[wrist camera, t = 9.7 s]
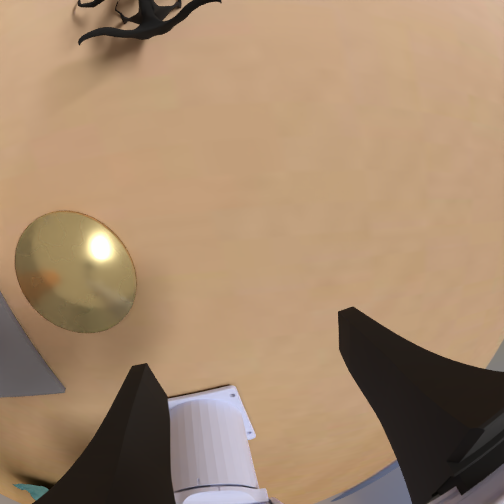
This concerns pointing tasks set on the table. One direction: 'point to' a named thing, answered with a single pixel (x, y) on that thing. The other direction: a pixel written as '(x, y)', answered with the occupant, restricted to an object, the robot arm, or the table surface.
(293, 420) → the table surface
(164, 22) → the creature
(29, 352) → the charcoal mat
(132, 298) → the brass token
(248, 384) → the table surface
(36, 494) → the terrain model
